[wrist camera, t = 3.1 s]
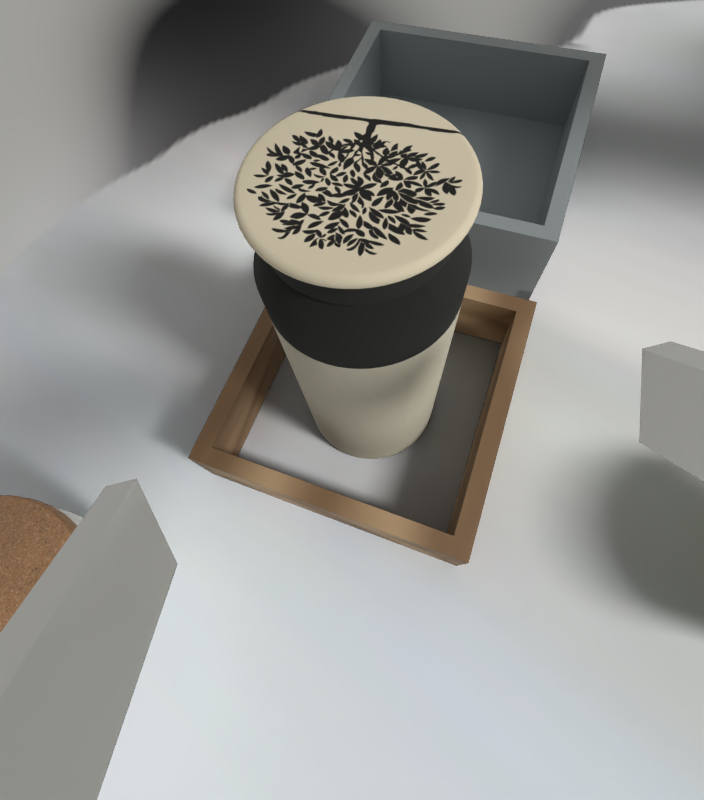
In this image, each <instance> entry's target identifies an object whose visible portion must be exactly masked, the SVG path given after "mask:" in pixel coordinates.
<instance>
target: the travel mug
mask: <svg viewBox="0 0 704 800" xmlns="http://www.w3.org/2000/svg"><path fill="white" fill-rule="evenodd" d="M482 194H483V180H482V172H481V168H480V164H479V161H478V159H477V156H476V154H475V152H474V150H473V148H472V146H471V145H470V143H469V142H468V141H467V139H466V138H465V137H464V135H463V134H462V133H461V132H460V131H459V130H458V129H457V128H456V127H455V126H454V125H452V124H451V123H450V122H449V121H447V120H446V119H445V118H443V117H441V116H440V115H438V114H436V113H435V112H433V111H431V110H429V109H427V108H424V107H422V106H419V105H416V104H413V103H410V102H407V101H403V100H398V99H393V98H387V97H376V96H358V97H347V98H340V99H334V100H329V101H325V102H321V103H318V104H315V105H312V106H309V107H307V108H304V109H302V110H300V111H298V112H296V113H293V114H292V115H290V116H288V117H286V118H285V119H283V120H281V121H280V122H278V123H277V124H275V125H274V126H273V127H272V128H270V129H269V130H268V131H267V132H266V133H265V134H264V135H262V136H261V137H260V138H259V139H258V141H257V142H256V143H255V144H254V145H253V146H252V148H251V149H250V151H249V152H248V153H247V155H246V157H245V158H244V160H243V162H242V164H241V166H240V169H239V171H238V174H237V178H236V181H235V187H234V210H235V214H236V219H237V222H238V225H239V227H240V230H241V232H242V234H243V235H244V237H245V239H246V240H247V242H248V243H249V245H250V246H251V247H252V248H253V250H254V251H255V253H254V263H253V264H254V277H255V282H256V285H257V289H258V291H259V294H260V296H261V298H262V301H263V303H264V305H265V307H266V310H267V312H268V314H269V317H270V319H271V321H272V324H273V326H274V328H275V330H276V333H277V335H278V337H279V340H280V342H281V344H282V346H283V349H284V351H285V353H286V356H287V358H288V360H289V363H290V365H291V367H292V369H293V372H294V374H295V376H296V379H297V381H298V383H299V386H300V388H301V390H302V392H303V395H304V397H305V399H306V402H307V404H308V406H309V409H310V411H311V413H312V415H313V418H314V420H315V422H316V425H317V427H318V429H319V430H320V432H321V433H322V435H323V436H324V437H325V439H326V440H327V441H328V442H329V443H330V444H332V445H333V446H334V447H335V448H337V449H339V450H340V451H342V452H344V453H346V454H349V455H352V456H355V457H359V458H367V459H377V458H384V457H388V456H391V455H394V454H397V453H399V452H401V451H403V450H405V449H406V448H408V447H409V446H410V445H412V444H413V443H414V442H415V441H416V440H417V439H418V438H419V437H420V435H421V434H422V433H423V431H424V430H425V428H426V426H427V424H428V422H429V419H430V416H431V412H432V409H433V405H434V401H435V398H436V394H437V391H438V387H439V384H440V380H441V376H442V373H443V369H444V366H445V362H446V358H447V355H448V351H449V348H450V344H451V340H452V337H453V333H454V330H455V326H456V323H457V319H458V315H459V312H460V308H461V305H462V301H463V297H464V294H465V290H466V287H467V283H468V279H469V276H470V271H471V265H472V248H471V242H470V238H469V234H468V232H469V230H470V228H471V227H472V225H473V223H474V221H475V219H476V217H477V214H478V211H479V208H480V205H481V200H482Z"/></svg>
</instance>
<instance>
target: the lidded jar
mask: <svg viewBox="0 0 704 800" xmlns="http://www.w3.org/2000/svg"><path fill="white" fill-rule="evenodd" d="M82 519H83V517H81V516H79V515H76V514H74V513H71V512H68V511H66V510H63V509H59V508H56V507H53V506H50V505H47V504H45V503H42V502H40V501H37V500H33V499H29V498H23V497H18V496H12V495H0V633H1V631H2V630H3V629H4V627H5V626H6V624H7V623H8V622H9V620H10V619H11V617H12V616H13V615H14V613H15V612H16V611H17V609H18V608H19V606H20V605H21V604H22V602H23V601H24V599H25V598H26V597H27V595H28V594H29V592H30V591H31V590H32V588H33V587H34V586H35V584H36V583H37V581H38V580H39V579H40V577H41V576H42V574H43V573H44V572H45V570H46V569H47V567H48V566H49V565H50V563H51V562H52V561H53V559H54V558H55V556H56V555H57V554H58V552H59V551H60V549H61V548H62V547H63V545H64V544H65V542H66V541H67V540H68V538H69V537H70V536H71V534H72V533H73V531H74V530H75V529H76V527H77V526H78V524H79V523H80V522H81V520H82Z"/></svg>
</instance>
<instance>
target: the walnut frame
mask: <svg viewBox="0 0 704 800" xmlns="http://www.w3.org/2000/svg"><path fill="white" fill-rule="evenodd" d="M536 303H537V302H534V301H530V300H526V299H522V298H518V297H514V296H510V295H506V294H502V293H498V292H494V291H490V290H486V289H483V288H479V287H475V286H471V285H467V287H466V290H465V294H464V297H463V301H462V305H461V308H460V312H459V315H458V319H457V323H456V326H455V330H454V331H457V332H460V333H464V334H468V335H471V336H475V337H479V338H482V339H486V340H489V341H493V342H497V343H500V344H501V345H500V348H499V352H498V355H497V359H496V362H495V366H494V369H493V373H492V376H491V380H490V383H489V387H488V390H487V394H486V397H485V401H484V404H483V408H482V411H481V415H480V418H479V422H478V425H477V429H476V433H475V436H474V440H473V443H472V447H471V450H470V454H469V457H468V461H467V464H466V468H465V471H464V475H463V478H462V482H461V485H460V489H459V492H458V496H457V499H456V503H455V506H454V510H453V513H452V517H451V520H450V524H449V527H448V531H447V533H445V532H442V531H439V530H436V529H434V528H431V527H428V526H425V525H423V524H420V523H417V522H414V521H412V520H409V519H406V518H404V517H401V516H398V515H395V514H393V513H390V512H387V511H384V510H382V509H379V508H376V507H373V506H371V505H368V504H365V503H362V502H360V501H357V500H354V499H352V498H349V497H346V496H343V495H341V494H338V493H335V492H332V491H330V490H327V489H324V488H321V487H319V486H316V485H313V484H311V483H308V482H305V481H302V480H300V479H297V478H294V477H291V476H289V475H286V474H283V473H280V472H278V471H275V470H272V469H270V468H267V467H264V466H261V465H259V464H256V463H253V462H250V461H248V460H245V459H242V458H239V457H238V454H239V452H240V450H241V448H242V446H243V444H244V442H245V440H246V438H247V435H248V433H249V431H250V429H251V427H252V425H253V423H254V421H255V418H256V416H257V414H258V412H259V410H260V408H261V406H262V404H263V401H264V399H265V397H266V395H267V393H268V391H269V389H270V387H271V385H272V382H273V380H274V378H275V376H276V374H277V372H278V370H279V368H280V365H281V363H282V361H283V359H284V357H285V355H286V353H285V351H284V349H283V346H282V344H281V342H280V340H279V337H278V335H277V333H276V330H275V328H274V326H273V324H272V321H271V319H270V317H269V314H268V312H267V310H266V307H265V308H264V310H263V312H262V314H261V316H260V318H259V320H258V322H257V324H256V326H255V328H254V330H253V332H252V334H251V336H250V338H249V340H248V341H247V343H246V345H245V347H244V349H243V351H242V353H241V355H240V357H239V359H238V361H237V363H236V365H235V367H234V369H233V371H232V373H231V375H230V377H229V379H228V381H227V383H226V384H225V386H224V388H223V390H222V392H221V394H220V396H219V398H218V400H217V402H216V404H215V406H214V408H213V410H212V412H211V414H210V416H209V418H208V420H207V422H206V424H205V426H204V428H203V429H202V431H201V433H200V435H199V437H198V439H197V441H196V443H195V445H194V447H193V449H192V451H191V453H190V455H189V457H188V458H189V459H191V460H192V461H194V462H195V463H197V464H199V465H200V466H202V467H203V468H205V469H207V470H208V471H210V472H211V473H213V474H215V475H218V476H221V477H223V478H226V479H229V480H231V481H234V482H237V483H239V484H242V485H244V486H247V487H250V488H252V489H255V490H258V491H260V492H263V493H266V494H268V495H271V496H274V497H276V498H279V499H281V500H284V501H287V502H289V503H292V504H295V505H297V506H300V507H303V508H305V509H308V510H311V511H313V512H316V513H318V514H321V515H324V516H326V517H329V518H332V519H334V520H337V521H340V522H342V523H345V524H348V525H350V526H353V527H355V528H358V529H361V530H363V531H366V532H369V533H371V534H374V535H377V536H379V537H382V538H385V539H387V540H390V541H392V542H395V543H398V544H400V545H403V546H406V547H408V548H411V549H414V550H416V551H419V552H422V553H424V554H427V555H429V556H432V557H435V558H437V559H440V560H443V561H445V562H448V563H451V564H453V565H456V566H457V565H462V564H466V563H469V559H470V555H471V551H472V547H473V543H474V540H475V536H476V532H477V528H478V524H479V521H480V517H481V513H482V509H483V505H484V502H485V498H486V494H487V490H488V486H489V482H490V479H491V475H492V471H493V467H494V463H495V460H496V456H497V452H498V448H499V444H500V441H501V437H502V433H503V429H504V425H505V421H506V418H507V414H508V410H509V406H510V402H511V399H512V395H513V391H514V387H515V383H516V380H517V376H518V372H519V368H520V364H521V360H522V357H523V353H524V349H525V345H526V341H527V338H528V334H529V330H530V326H531V322H532V319H533V315H534V311H535V307H536Z"/></svg>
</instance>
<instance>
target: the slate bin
mask: <svg viewBox="0 0 704 800" xmlns="http://www.w3.org/2000/svg"><path fill="white" fill-rule="evenodd" d="M605 58H606V54H602V53H595V52H588V51H581V50H574V49H567V48H560V47H553V46H547V45H539V44H533V43H525V42H519V41H512V40H505V39H498V38H491V37H485V36H478V35H471V34H463V33H457V32H450V31H443V30H436V29H430V28H422V27H416V26H409V25H402V24H394V23H388V22H381V21H375V20H373V21H372V23H371V24H370V26H369V28H368V30H367V31H366V33H365V35H364V37H363V39H362V41H361V42H360V44H359V46H358V48H357V49H356V51H355V53H354V55H353V57H352V58H351V60H350V62H349V64H348V65H347V67H346V69H345V71H344V73H343V74H342V76H341V78H340V80H339V81H338V83H337V85H336V87H335V89H334V90H333V92H332V94H331V96H330V97H329V99H328V101H329V100H334V99H340V98H347V97H358V96H376V97H387V98H393V99H398V100H403V101H407V102H410V103H413V104H416V105H419V106H422V107H424V108H427V109H429V110H431V111H433V112H435V113H436V114H438V115H440V116H441V117H443V118H445V119H446V120H447V121H449V122H450V123H451V124H452V125H454V126H455V127H456V128H457V129H458V130H459V131H460V132H461V133H462V134H463V135H464V137H465V138H466V139H467V141H468V142H469V143H470V145H471V146H472V148H473V150H474V152H475V154H476V156H477V159H478V161H479V164H480V168H481V172H482V180H483V194H482V200H481V205H480V208H479V211H478V214H477V217H476V219H475V221H474V223H473V225H472V227H471V228H470V230H469V232H468V234H469V238H470V242H471V248H472V265H471V271H470V276H469V279H468V283H467V285H471V286H475V287H479V288H483V289H486V290H490V291H494V292H498V293H502V294H506V295H510V296H514V297H518V298H522V299H526V300H529V298H530V296H531V294H532V292H533V290H534V288H535V286H536V284H537V282H538V280H539V278H540V276H541V275H542V273H543V271H544V269H545V267H546V265H547V263H548V261H549V259H550V257H551V255H552V253H553V251H554V249H555V247H556V245H557V243H558V241H559V237H560V233H561V229H562V225H563V221H564V217H565V213H566V209H567V205H568V202H569V198H570V194H571V190H572V186H573V182H574V178H575V174H576V170H577V167H578V163H579V159H580V155H581V151H582V147H583V143H584V139H585V135H586V132H587V128H588V124H589V120H590V116H591V112H592V108H593V104H594V100H595V96H596V93H597V89H598V85H599V81H600V77H601V73H602V69H603V65H604V61H605Z"/></svg>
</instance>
